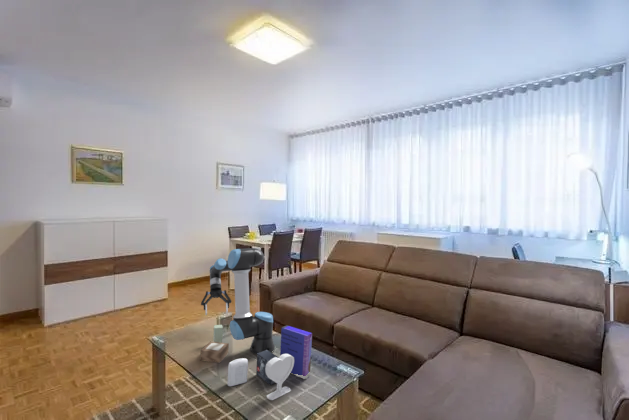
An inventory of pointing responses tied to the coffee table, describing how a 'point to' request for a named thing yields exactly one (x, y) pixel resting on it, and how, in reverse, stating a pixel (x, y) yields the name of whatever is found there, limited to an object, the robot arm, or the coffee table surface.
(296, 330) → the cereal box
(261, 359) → the small box
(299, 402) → the coffee table surface
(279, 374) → the heart sculpture
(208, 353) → the walnut riser block
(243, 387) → the coffee table surface
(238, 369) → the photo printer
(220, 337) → the sage block
